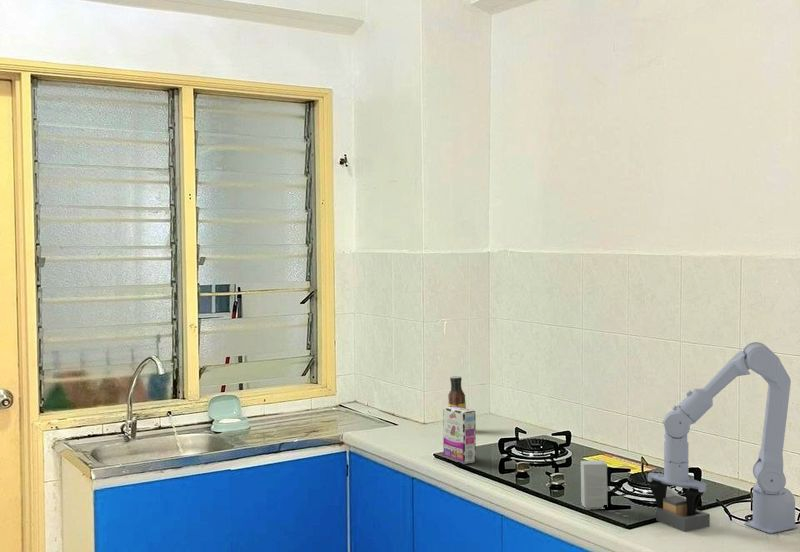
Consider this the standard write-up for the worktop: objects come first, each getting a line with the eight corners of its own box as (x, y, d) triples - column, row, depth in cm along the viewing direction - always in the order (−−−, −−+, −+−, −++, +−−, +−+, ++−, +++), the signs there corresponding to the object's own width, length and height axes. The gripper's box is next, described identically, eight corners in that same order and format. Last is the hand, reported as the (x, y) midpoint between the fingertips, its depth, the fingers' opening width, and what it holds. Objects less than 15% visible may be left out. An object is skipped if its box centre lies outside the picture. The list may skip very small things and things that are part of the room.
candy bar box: (476, 462, 279) (476, 410, 278) (464, 465, 276) (463, 412, 275) (455, 455, 288) (454, 405, 288) (442, 458, 286) (442, 407, 285)
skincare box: (603, 505, 234) (603, 459, 234) (607, 510, 230) (607, 464, 229) (580, 505, 234) (580, 460, 233) (584, 510, 230) (584, 464, 229)
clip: (685, 513, 225) (685, 497, 225) (679, 513, 225) (679, 497, 225) (665, 497, 239) (665, 482, 238) (659, 497, 239) (659, 482, 238)
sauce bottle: (467, 429, 326) (466, 375, 325) (466, 433, 320) (466, 378, 319) (449, 429, 327) (448, 375, 326) (448, 433, 321) (447, 378, 320)
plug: (676, 517, 224) (676, 495, 223) (689, 522, 220) (689, 500, 219) (663, 520, 222) (663, 498, 221) (675, 525, 218) (675, 502, 217)
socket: (681, 512, 227) (681, 500, 227) (715, 525, 217) (715, 513, 217) (650, 518, 223) (650, 506, 223) (684, 531, 213) (684, 519, 212)
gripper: (711, 462, 218) (711, 517, 218) (657, 452, 228) (657, 505, 229) (698, 468, 213) (698, 524, 213) (643, 457, 223) (643, 511, 224)
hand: (676, 515), depth 221 cm, fingers open, 7 cm apart
